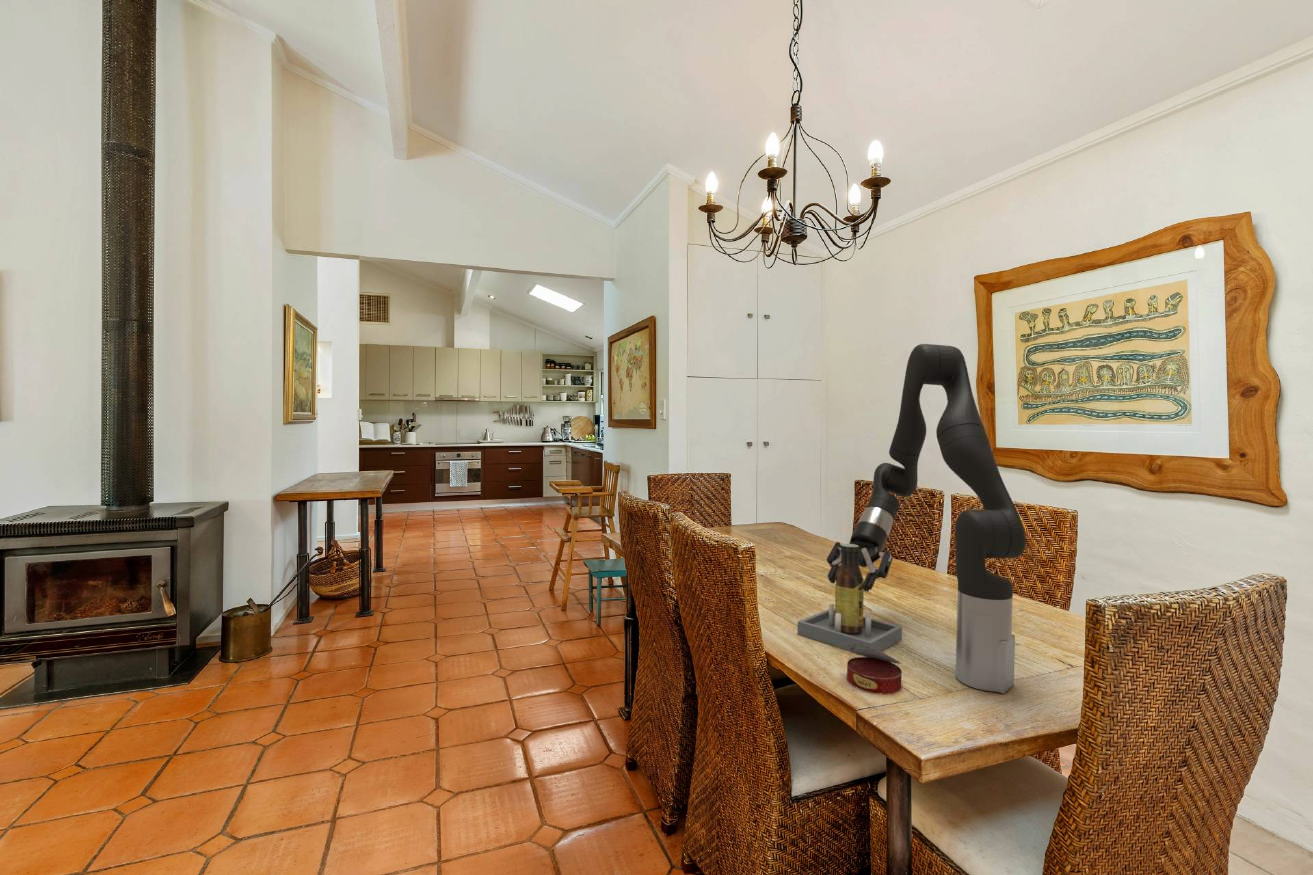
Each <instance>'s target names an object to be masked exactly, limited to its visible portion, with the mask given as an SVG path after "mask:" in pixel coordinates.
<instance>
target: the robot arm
mask: <svg viewBox="0 0 1313 875" xmlns="http://www.w3.org/2000/svg"><path fill="white" fill-rule="evenodd" d="M966 362H967V361H966V359H965V356H964V354H963V352H962V351H961V350H960V348H958V347H956V346H952V345H945V344H944V345H943V344H942V345H941V344H929V343H920V344H917V345H916V346H915V347H914V348H912V350H911V352H910V354H909V357H908V360H907V364H906V369H905V375H904V381H903V388H902V395H901V403H900V407H899V408H900V410H899V416H898V420H897V424H896V429H895V431H894V433H893V434H894V435H893V438H892V440H891V443H890V446H889V450H888V455H889V456H890V458H891V459H892V460H894V461H895V462H897V463H899V464H900V465H901V466H902V467H901V466H898V465H895V464H892V463H889V462H882V463H880V464H879V465H877V466H876V468H875V470H874V473H873V482H872V486H873V487H872V490H871V496H870V498H869V500H868V503H867V505H866V507H865V509H864V511H863V512H862V514H861V516H860V517H859V520H858V521H857V523H856V526H855V528H854V529H853V530H854V531H853V532H852V534H851V536H850V540H849V543H848V544H855V545H858V546H859V552H858V565H859V567H861V568H866V567H867V568H868V571H869V572H867V574H866V576H865V578H864V583H863V585H862V587H863V589H864V592H867V593H869V591H870V590H872V589H873V587H874V584H875V582H876V580H877V579H878V578H882V579H886V578H887V577H888V574H889V570H890V567H891V565H892V562H893V560H894V559H893V556H892V554H891V553H890V551H889V550H885V551H884V552H882V551H883V549H884V547H885V544H886V542H887V540H888V538H889V535H890V533H891V530H892V527H893V523H894V520H895V519H896V515H897V514H898V511H899V509H900V504H901V503H900V501H899V498H897V496H898V497H902V498H908V497H911V496H912V495H913V494H914V493H915V492H916V490H917V488H918V466H919V464H918V463H919V458H920V455H921V452H922V449H923V447H924V443H925V440H926V436H927V423H926V420H925V417H924V414H923V410H922V407H921V400H920V398H921V394H922V393H921V392H922V390H923V387H924V385H932V386H941V387H943V389H944V391H945V394H946V399H947V403H946V406H945V409H944V411H943V413H941V417H940V419H939V420H938V422H937V427H936V431H935V432H936V433H935V435H936V438H937V443H938V445H939V449H940V453H941V456H942V460H943V462H944V463H945V464H946V465H947V467H948V468H949V469H950V470H951V471H952V472H953V473H954V475H956V476H957V477H958V478H959V479H960V480H961V481H962V482H964V483H965V484H966V485H967V486H968V487H969V488H970V489H971V490H972V491H973V493H975V495H976V496H977V498H978V499H979V500H980V503H981V505H982V507H983V509H965V510H962V511H961V512H959V515H958V516H957V518H956V520H955V524H954V525H955V526H954V544H955V547H954V548H955V573H956V580H957V602H956V606H957V608H956V610H957V611H956V642H955V643H956V644H955V645H956V646H955V677H956V679H957V680H958V681H959V682H961V683H962V684H963V685H966V686H968V687H971V688H974V689H978V690H981V691H985V692H986V691H987V692H997V693H1000V694H1005V693H1006V692H1007V691H1008V690H1009V689H1011V687H1013V686H1014V684H1015V661H1016V660H1015V657H1016V655H1015V654H1016V653H1015V652H1016V650H1015V649H1016V635H1014V634H1013V633H1012V629H1013V602H1014V601H1013V595H1014V588H1013V587H1014V585H1013V583H1012V581H1011V580H1009V579H1007V578H1006V577H1003V576H1001V575H999V574H995V573H993V572H990V571H989V570H988V569H987V566H986V565H987V564H986V559H1000V560H1001V559H1005V560H1006V559H1016V558H1019V557H1020V556H1022V555H1023V554H1024V551H1025V550H1026V544H1027V541H1026V531H1025V528H1024V525H1023V522H1022V518H1021V517H1020V514H1019V513H1018V512H1019V511H1018V510H1017V507H1016V506H1015V503H1014V502H1013V498H1012V497H1011V495H1010V494H1009V491H1008V489H1007V487H1006V485H1005V483H1004V480H1003V478H1002V476H1001V473H1000V470H999V468H998V466H997V462H996V459H995V456H994V453H993V451H992V447H991V444H990V441H989V437H988V435H987V432H986V429H985V427H984V423H983V422H982V419H981V417H980V416H981V415H980V414H979V411H978V407H977V405H976V404H977V403H976V400H975V397H974V394H973V391H972V386H971V381H970V376H969V371H968V368H967V363H966ZM895 495H897V496H895ZM880 559H881V560H880ZM878 560H880V564H879V567H878V568H876V566H875V564H874V563H875V562H877V561H878ZM826 561H827V564H828V565H829V567H830V569H829V571H828V574H827V579H828V581H829V583H830V584H836V573H837V570H838V569H839V567H840V566H841V564H842V563H841V543H840V542H839V541H837V542H835V543H834V545H833V547H832V549H831V551H830V552H829V554H828V556H827V557H826Z"/></svg>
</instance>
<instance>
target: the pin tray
mask: <svg viewBox="0 0 1313 875" xmlns="http://www.w3.org/2000/svg"><path fill="white" fill-rule="evenodd" d="M862 627H863V628H862V631H861V632H860V633H856V634H848V633H843V632H841V614H840V613H836V614H835V604H834V603H829V604H828V609H826V610H822V611H821V612H818V613H816V614H812V615H810V616H809V617H805V618H803V619H800V620H798V621H797V635H799V634H800V635H799V636H803V637H806V638H807V639H808V638H809V639H811V640H814V641H818V642H821V643H824V644H827V645H830V646H834V647H837V648H839V649H843V650H846V651H848V650H847V646H848V644H850V643H852V642H855V643H862V644H866V645H869V646H871V647H873V648H875V649H877V650H879V651H881V652H883V651H885V650H887V649H888V648H890V647H892V646H894V645H895V644H897V643H899V642H901V641H903V627H902V626H900V625H895V624H893V623H888V622H885V621H881V620H877V619H875V618H874V619H873V618H872V614H871V613H865V616H863V625H862Z"/></svg>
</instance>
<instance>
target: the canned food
mask: <svg viewBox="0 0 1313 875" xmlns="http://www.w3.org/2000/svg"><path fill="white" fill-rule="evenodd" d="M846 651H848V652H850V653H852V654H856V655H859V656H858V657H854V658H851V659H849V660H848V661H847V664H846V665H847V667H846V681H847V682H848V683H849V685H851V684H852V685H851V686H853V687H854V686H855V687H854V688H856V687H857V688H856V689H858V688H859V689H858V690H860V689H861V690H860V691H863V692H868V693H871V694H878V693H879V694H880V693H882V694H880V695H890V694H889V693H891V694H896V693H898V692H899V691H900V690H901V689H902V675H903V670H902V669H901V667H900V666H899V665H897V664H902V662H900V661H899V660H897V659H895V658H894V657H893V656H890V655H888V654H886V653H885V652H883V651H879V650H877V649H875V648H873V647H871V646H869V645H866V644H862V643H855V642H852V643H850V644H848V646H847V650H846ZM897 691H898V692H897ZM879 694H878V695H879Z"/></svg>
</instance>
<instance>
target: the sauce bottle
mask: <svg viewBox="0 0 1313 875" xmlns="http://www.w3.org/2000/svg"><path fill="white" fill-rule="evenodd" d="M840 544H841V543H840ZM858 552H859V546H858V545H855V544H849V543H842V544H841V563H842V564H841V566H840V567H839V569H838V570H837V573H836V581H835V586H834V587H835V594H834V595H835V597H834V599H835V600H834V602H835V604H834V609H835V614H836V613H840V614H841V632H843V633H848V634H856V633H860V632H861V631H862V628H863V627H862V625H863V617H864V603H865V602H864V596H865V595H864V594H865V593H864V592H865V591H864V589H863V587H862V585H863V583H864V580H865V578H864V577H863V574H862V570H861V568H860V566H859V565H858Z"/></svg>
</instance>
